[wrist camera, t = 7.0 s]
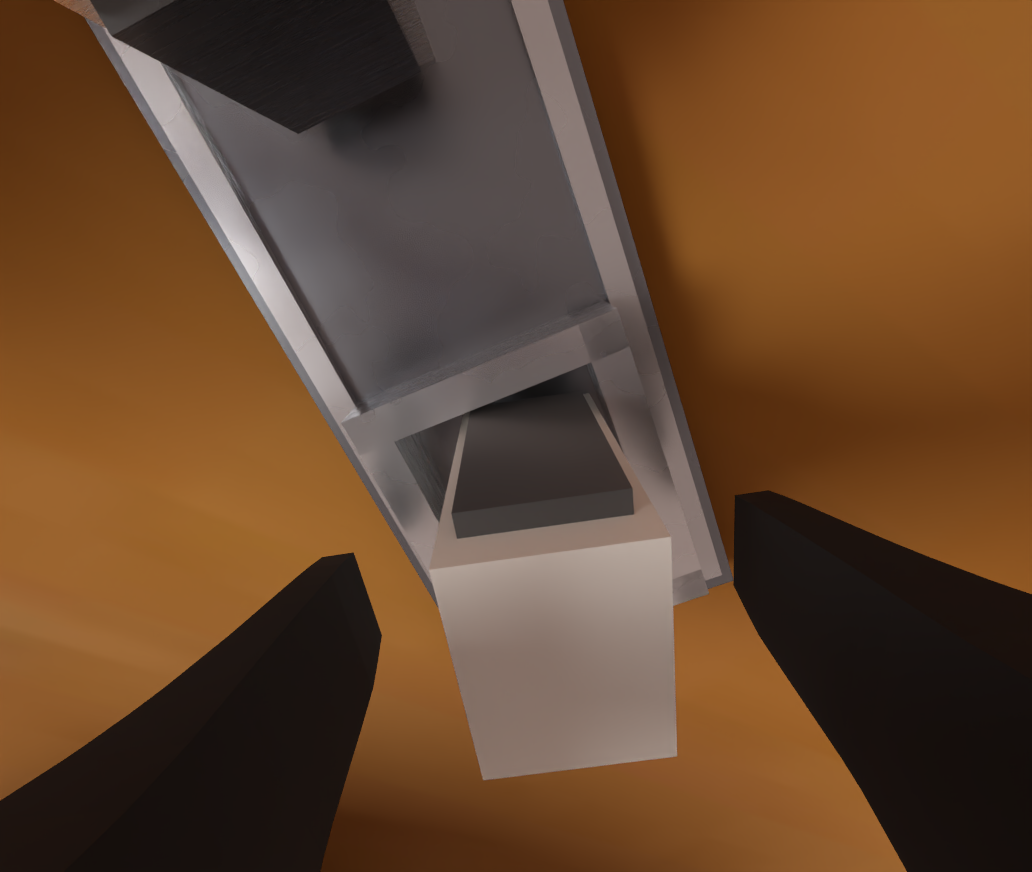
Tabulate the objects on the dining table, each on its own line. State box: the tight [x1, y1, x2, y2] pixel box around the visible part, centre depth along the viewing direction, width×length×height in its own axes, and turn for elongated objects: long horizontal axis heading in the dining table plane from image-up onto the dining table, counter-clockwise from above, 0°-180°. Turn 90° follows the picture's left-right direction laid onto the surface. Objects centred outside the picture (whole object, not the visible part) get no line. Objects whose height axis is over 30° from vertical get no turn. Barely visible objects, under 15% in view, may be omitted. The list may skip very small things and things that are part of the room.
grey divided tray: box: [54, 0, 733, 608], centre depth 8 cm, size 8×20×7 cm, turn 22°
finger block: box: [429, 391, 677, 780], centre depth 9 cm, size 3×4×6 cm
